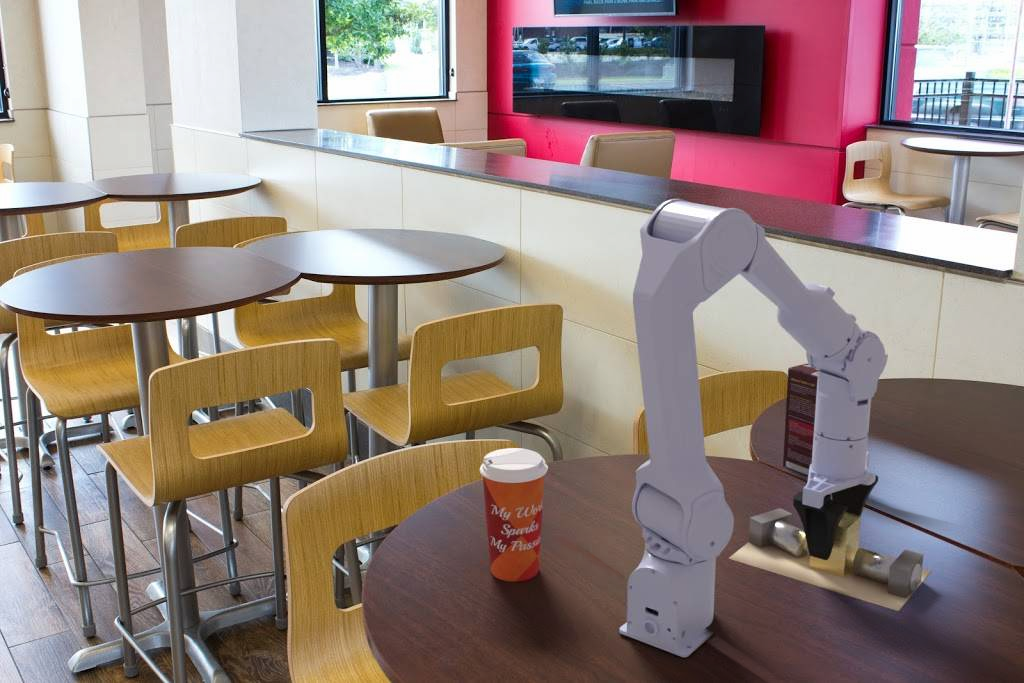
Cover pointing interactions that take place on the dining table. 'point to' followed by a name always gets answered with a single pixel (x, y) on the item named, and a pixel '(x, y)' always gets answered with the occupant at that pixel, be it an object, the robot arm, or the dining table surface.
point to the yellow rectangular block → (841, 548)
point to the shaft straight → (880, 567)
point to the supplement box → (800, 418)
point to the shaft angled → (788, 538)
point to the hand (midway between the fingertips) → (832, 544)
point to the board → (797, 568)
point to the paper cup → (514, 511)
